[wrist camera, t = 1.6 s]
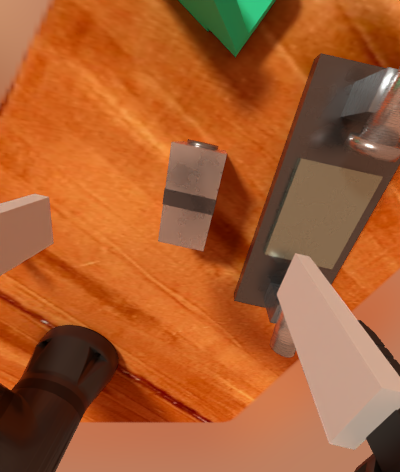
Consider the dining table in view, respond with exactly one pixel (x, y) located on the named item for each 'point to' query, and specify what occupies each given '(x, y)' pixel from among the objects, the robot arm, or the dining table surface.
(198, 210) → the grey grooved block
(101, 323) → the dining table surface
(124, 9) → the dining table surface
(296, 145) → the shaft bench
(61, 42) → the dining table surface
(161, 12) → the dining table surface
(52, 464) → the robot arm
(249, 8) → the camera mount
